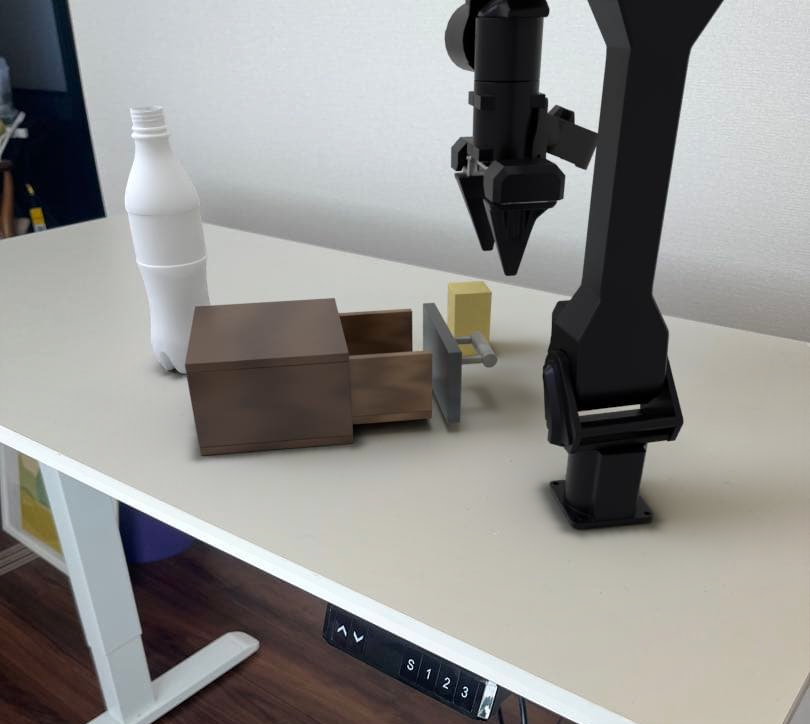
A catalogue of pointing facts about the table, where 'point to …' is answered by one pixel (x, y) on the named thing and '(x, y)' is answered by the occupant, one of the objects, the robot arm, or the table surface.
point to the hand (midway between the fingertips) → (498, 262)
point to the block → (469, 311)
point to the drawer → (406, 365)
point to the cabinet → (269, 376)
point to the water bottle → (166, 236)
